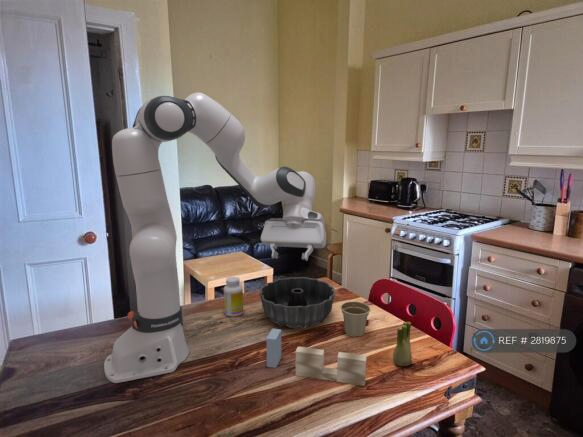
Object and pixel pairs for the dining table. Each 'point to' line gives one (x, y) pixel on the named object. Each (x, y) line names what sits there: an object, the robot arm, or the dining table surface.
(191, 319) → the dining table surface
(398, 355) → the fennel bulb
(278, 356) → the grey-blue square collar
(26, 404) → the dining table surface
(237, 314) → the supplement bottle
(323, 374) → the beech slot board
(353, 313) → the flower pot
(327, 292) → the bundt pan
